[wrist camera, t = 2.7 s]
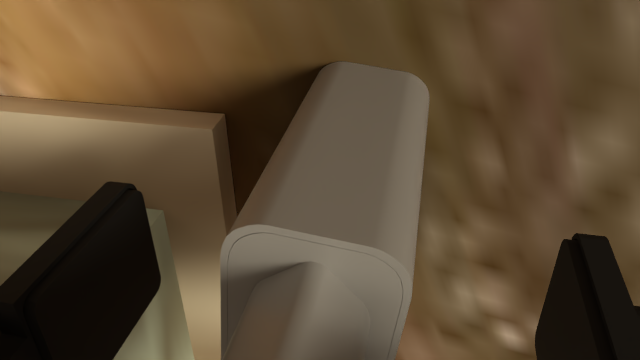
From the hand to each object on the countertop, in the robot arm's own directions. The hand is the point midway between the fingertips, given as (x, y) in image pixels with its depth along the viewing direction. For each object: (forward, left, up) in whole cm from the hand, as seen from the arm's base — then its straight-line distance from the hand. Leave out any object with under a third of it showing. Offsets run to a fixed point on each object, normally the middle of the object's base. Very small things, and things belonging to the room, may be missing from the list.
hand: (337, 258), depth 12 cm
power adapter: (0, 0, -5) cm, 5 cm away
